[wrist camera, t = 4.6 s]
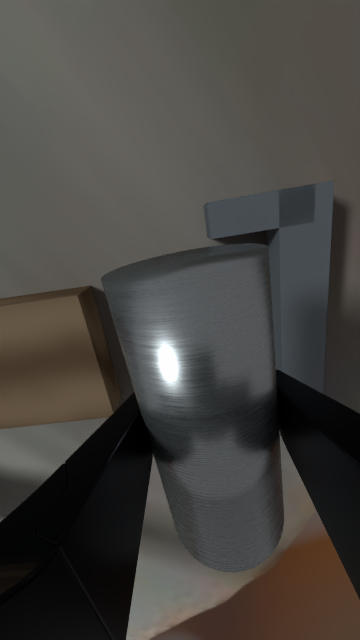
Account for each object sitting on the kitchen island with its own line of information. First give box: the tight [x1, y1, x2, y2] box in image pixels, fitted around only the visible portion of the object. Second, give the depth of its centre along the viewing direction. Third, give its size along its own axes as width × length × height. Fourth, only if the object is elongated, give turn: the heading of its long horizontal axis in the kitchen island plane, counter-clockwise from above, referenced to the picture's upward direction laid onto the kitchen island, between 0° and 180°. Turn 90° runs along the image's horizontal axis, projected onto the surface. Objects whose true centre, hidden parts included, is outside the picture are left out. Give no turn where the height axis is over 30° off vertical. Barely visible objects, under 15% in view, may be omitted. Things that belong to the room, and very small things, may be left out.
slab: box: [0, 286, 122, 429], centre depth 20 cm, size 10×12×3 cm
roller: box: [101, 243, 284, 572], centre depth 8 cm, size 9×4×4 cm, turn 11°
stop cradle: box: [204, 181, 334, 436], centre depth 19 cm, size 18×7×2 cm, turn 9°
